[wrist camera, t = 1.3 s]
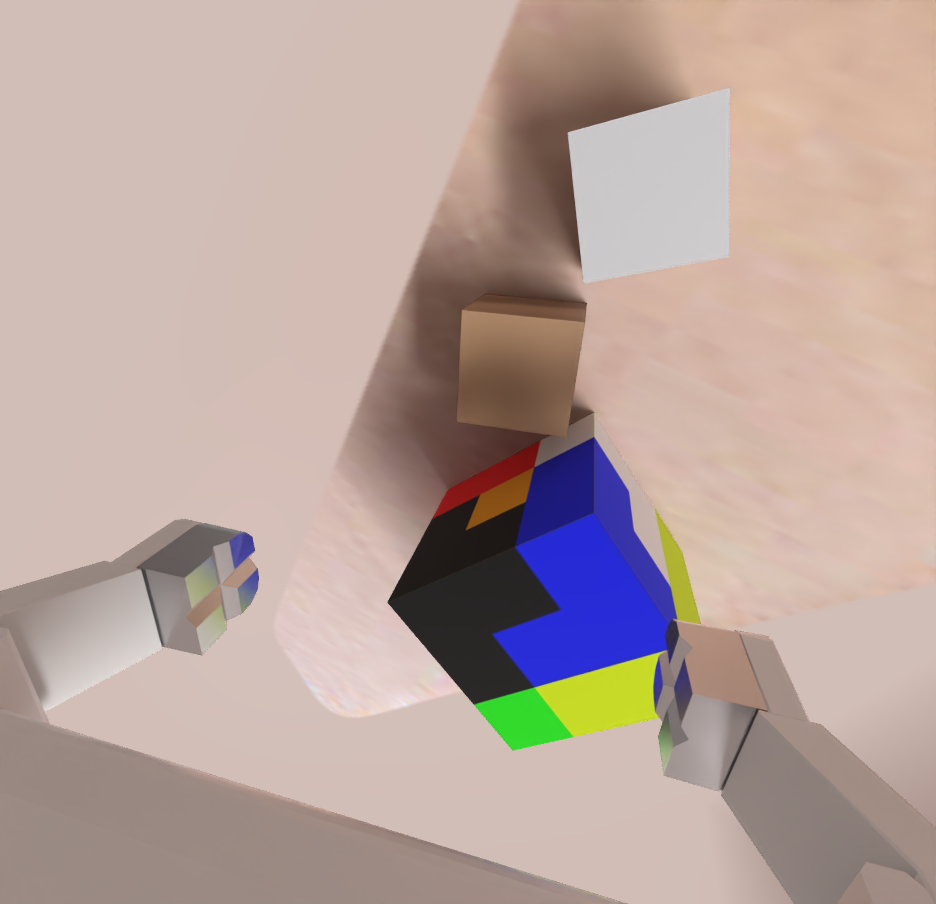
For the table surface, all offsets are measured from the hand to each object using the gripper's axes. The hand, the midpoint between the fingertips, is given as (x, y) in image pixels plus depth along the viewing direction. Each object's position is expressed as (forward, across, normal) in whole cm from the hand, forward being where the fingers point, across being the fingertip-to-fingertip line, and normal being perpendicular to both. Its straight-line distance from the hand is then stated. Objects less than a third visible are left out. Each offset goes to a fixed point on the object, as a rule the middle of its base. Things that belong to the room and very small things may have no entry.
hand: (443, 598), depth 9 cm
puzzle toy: (+19, -2, +9) cm, 21 cm away
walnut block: (+18, +1, -1) cm, 18 cm away
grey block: (+18, -3, -8) cm, 20 cm away
